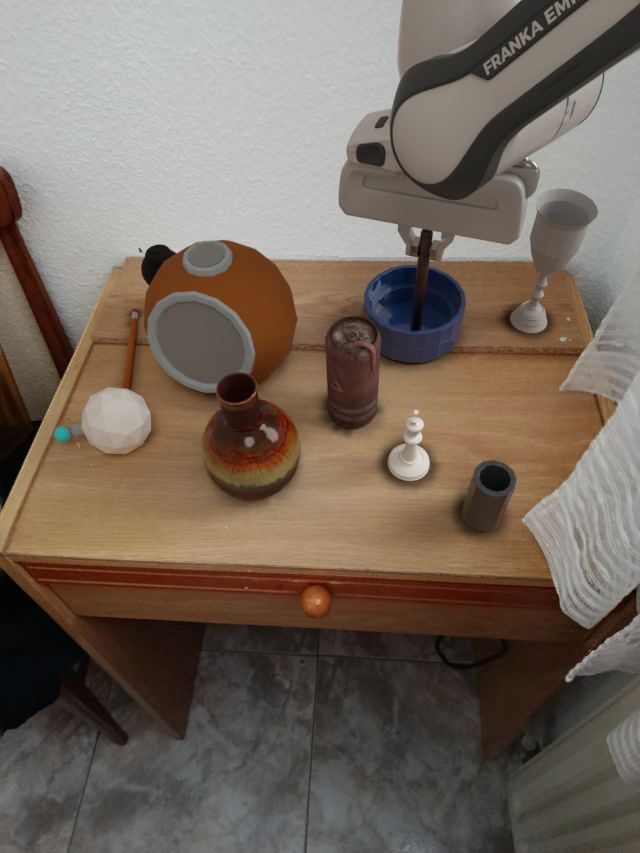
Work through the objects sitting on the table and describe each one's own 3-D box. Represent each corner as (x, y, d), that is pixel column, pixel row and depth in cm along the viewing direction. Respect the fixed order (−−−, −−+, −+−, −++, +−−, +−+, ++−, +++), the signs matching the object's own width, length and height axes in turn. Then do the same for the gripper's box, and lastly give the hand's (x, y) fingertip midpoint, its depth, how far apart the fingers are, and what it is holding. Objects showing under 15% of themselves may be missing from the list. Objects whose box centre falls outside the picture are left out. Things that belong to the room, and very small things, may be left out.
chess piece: (432, 450, 71) (443, 399, 63) (425, 485, 69) (435, 436, 61) (392, 442, 72) (397, 390, 64) (383, 476, 70) (388, 426, 62)
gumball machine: (204, 295, 89) (189, 239, 81) (190, 323, 86) (173, 267, 78) (162, 289, 90) (143, 233, 82) (147, 317, 87) (126, 261, 79)
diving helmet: (140, 396, 78) (94, 296, 64) (188, 305, 88) (157, 201, 74) (280, 421, 75) (264, 321, 61) (314, 323, 85) (307, 218, 71)
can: (360, 439, 73) (362, 363, 61) (318, 415, 75) (313, 337, 64) (387, 407, 75) (394, 328, 64) (347, 384, 78) (346, 305, 66)
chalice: (494, 308, 85) (524, 195, 70) (537, 297, 86) (575, 183, 71) (519, 344, 81) (556, 231, 66) (564, 331, 82) (610, 218, 67)
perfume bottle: (153, 454, 68) (53, 479, 69) (167, 430, 76) (77, 454, 77) (130, 390, 66) (26, 417, 66) (146, 373, 74) (53, 397, 74)
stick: (421, 329, 81) (435, 225, 67) (418, 336, 80) (431, 233, 67) (411, 327, 81) (422, 223, 68) (408, 334, 80) (419, 230, 67)
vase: (223, 426, 75) (198, 341, 62) (310, 437, 73) (302, 351, 61) (198, 504, 68) (164, 426, 56) (293, 517, 67) (279, 440, 54)
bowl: (468, 308, 85) (475, 275, 80) (446, 376, 78) (452, 344, 73) (379, 289, 88) (381, 256, 83) (350, 352, 81) (350, 320, 76)
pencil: (139, 312, 87) (137, 308, 86) (127, 415, 76) (125, 410, 76) (133, 313, 87) (131, 308, 86) (120, 415, 76) (118, 411, 76)
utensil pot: (503, 504, 67) (519, 466, 60) (496, 536, 65) (512, 501, 58) (466, 493, 68) (478, 455, 61) (457, 525, 66) (469, 489, 59)
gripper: (549, 140, 58) (518, 255, 70) (351, 112, 63) (352, 224, 74) (539, 175, 55) (508, 290, 66) (331, 143, 60) (334, 255, 71)
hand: (424, 255), depth 70 cm, fingers closed on stick, 1 cm apart
